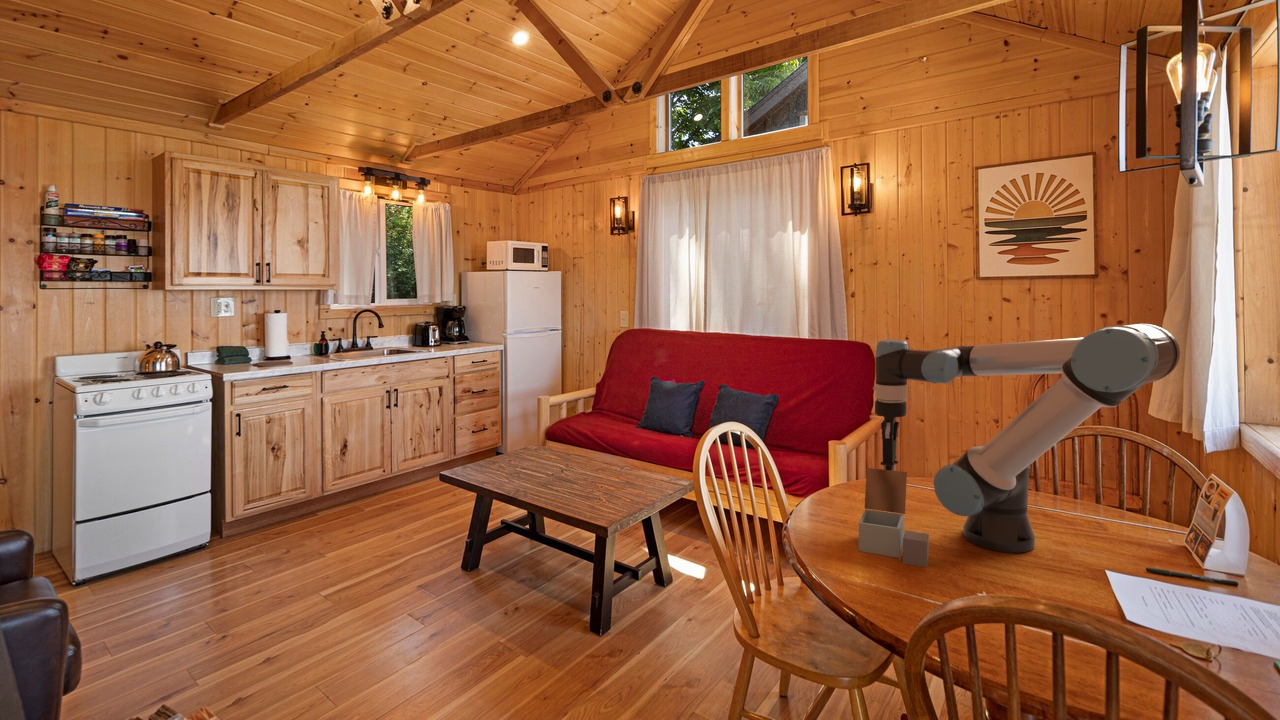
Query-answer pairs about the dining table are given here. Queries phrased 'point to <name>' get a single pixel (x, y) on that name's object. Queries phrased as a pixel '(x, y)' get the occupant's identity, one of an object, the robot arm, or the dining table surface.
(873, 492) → the lid
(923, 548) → the slate block
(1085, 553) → the dining table surface
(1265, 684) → the dining table surface
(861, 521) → the box
